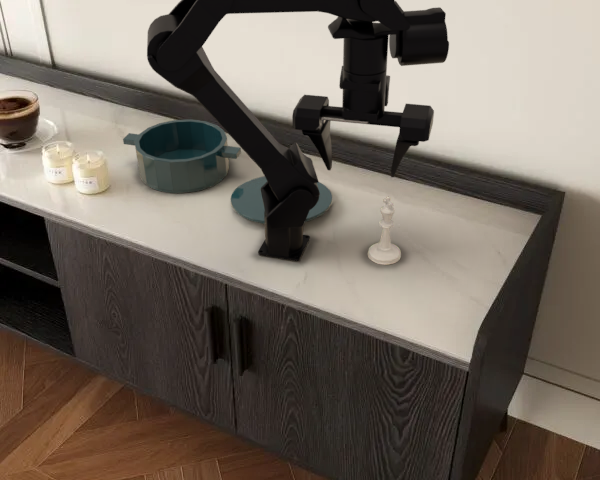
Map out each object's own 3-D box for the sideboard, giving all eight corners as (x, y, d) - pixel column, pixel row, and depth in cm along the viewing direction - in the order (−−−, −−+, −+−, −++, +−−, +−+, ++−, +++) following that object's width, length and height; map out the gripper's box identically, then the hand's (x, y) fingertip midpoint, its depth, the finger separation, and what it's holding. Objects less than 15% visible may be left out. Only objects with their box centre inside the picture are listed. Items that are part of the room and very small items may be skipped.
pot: (224, 201, 126) (222, 169, 123) (110, 184, 131) (104, 152, 127) (254, 157, 138) (253, 126, 134) (148, 143, 143) (144, 113, 139)
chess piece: (383, 268, 111) (388, 210, 105) (360, 254, 114) (363, 196, 108) (407, 256, 114) (413, 198, 107) (384, 241, 117) (388, 184, 110)
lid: (312, 235, 116) (312, 206, 113) (214, 218, 121) (211, 189, 118) (344, 188, 129) (345, 160, 126) (254, 174, 134) (253, 147, 131)
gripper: (442, 49, 104) (432, 152, 114) (309, 40, 108) (310, 140, 117) (433, 82, 95) (423, 190, 105) (290, 70, 99) (292, 176, 109)
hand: (361, 172), depth 109 cm, fingers open, 9 cm apart
